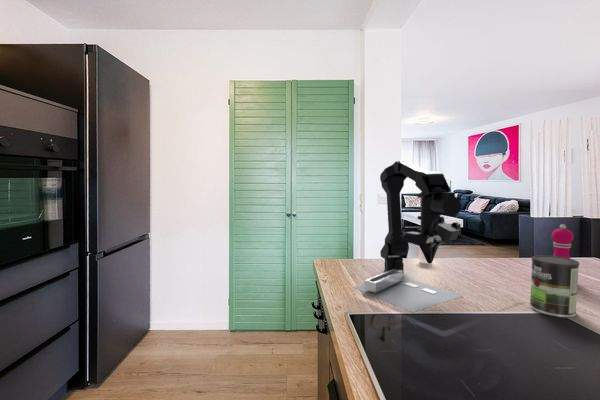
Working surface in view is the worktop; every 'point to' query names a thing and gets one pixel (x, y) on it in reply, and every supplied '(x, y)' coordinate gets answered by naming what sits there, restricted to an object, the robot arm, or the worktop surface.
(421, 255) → the beverage cup
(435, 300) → the label board
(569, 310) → the coffee can
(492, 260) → the worktop surface
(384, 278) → the bar
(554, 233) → the pepper mill
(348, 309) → the worktop surface
